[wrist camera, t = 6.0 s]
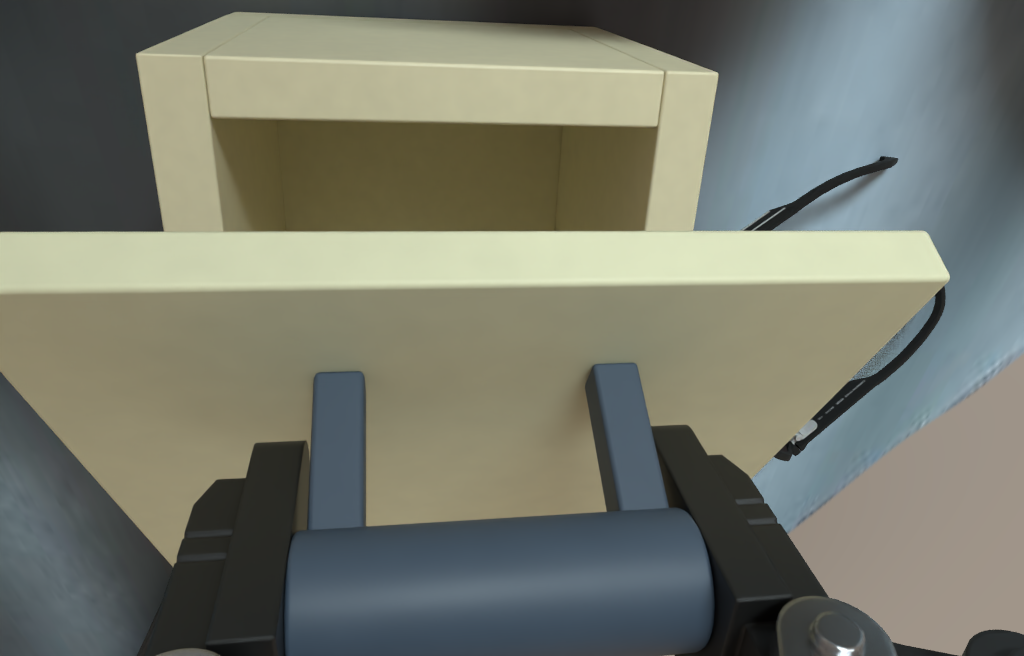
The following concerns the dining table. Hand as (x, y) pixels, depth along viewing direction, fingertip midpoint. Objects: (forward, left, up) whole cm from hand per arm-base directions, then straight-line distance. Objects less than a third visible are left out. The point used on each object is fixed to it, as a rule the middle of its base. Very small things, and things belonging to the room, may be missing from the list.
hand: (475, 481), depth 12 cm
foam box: (+2, +1, -19) cm, 19 cm away
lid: (+2, +1, -4) cm, 4 cm away
